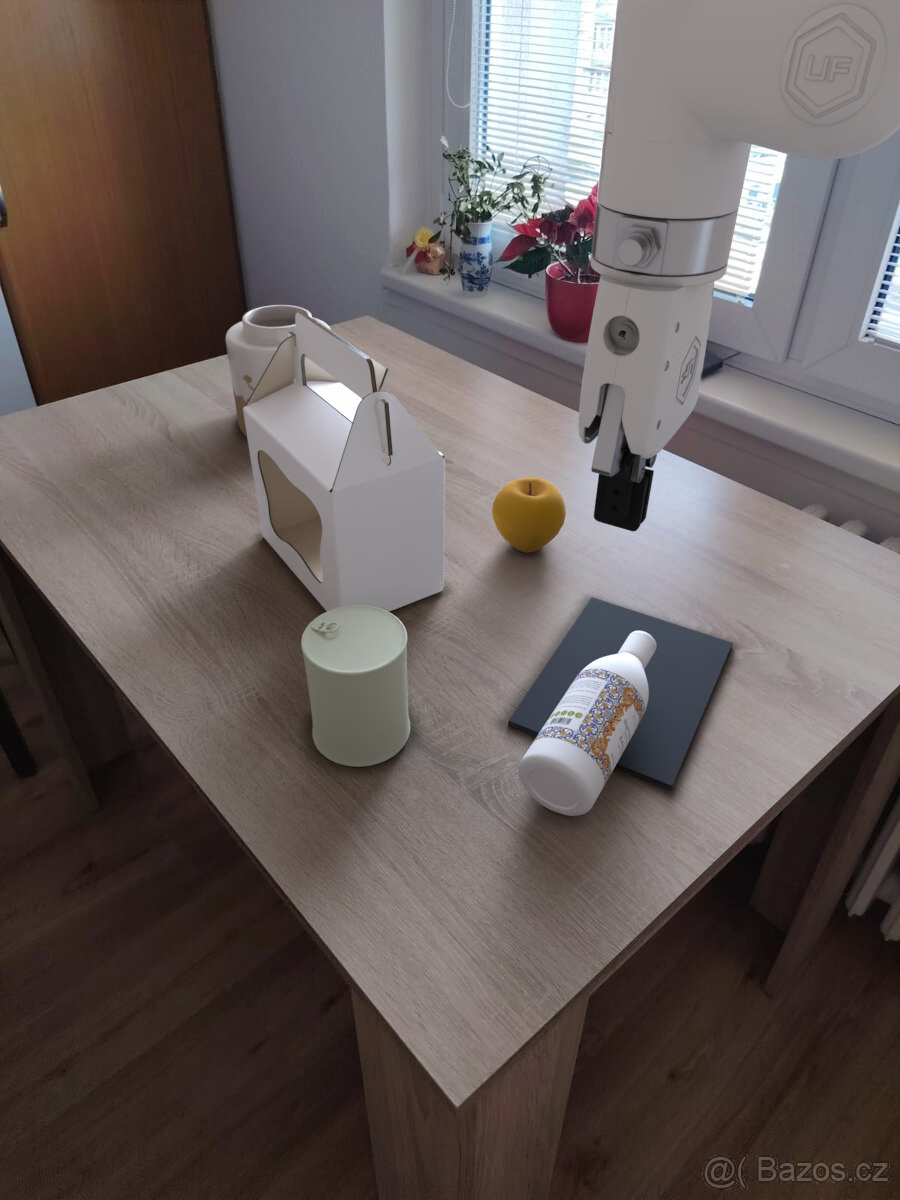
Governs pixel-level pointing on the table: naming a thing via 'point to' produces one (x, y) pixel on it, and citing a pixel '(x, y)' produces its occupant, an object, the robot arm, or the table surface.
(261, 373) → the vase
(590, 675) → the bath foam
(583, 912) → the table surface
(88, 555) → the table surface
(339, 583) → the gable box
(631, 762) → the mat
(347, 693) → the can
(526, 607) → the table surface
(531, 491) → the apple
